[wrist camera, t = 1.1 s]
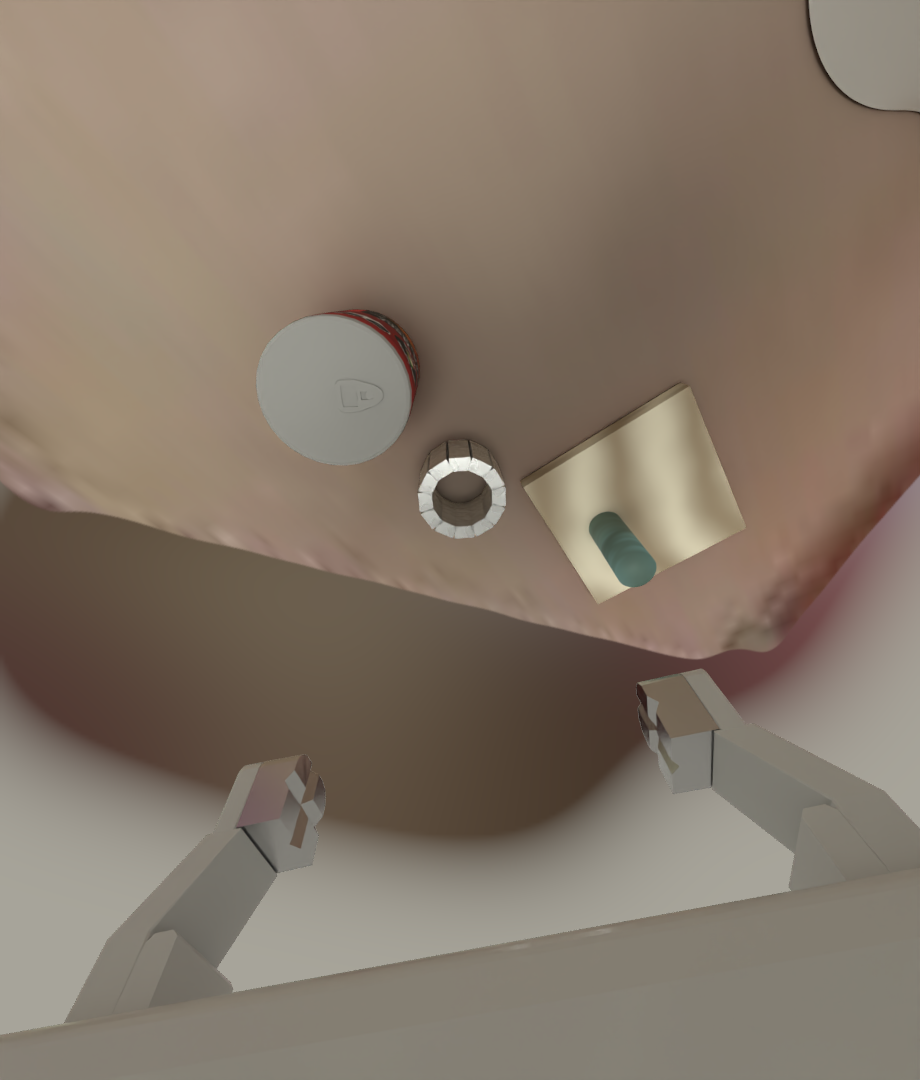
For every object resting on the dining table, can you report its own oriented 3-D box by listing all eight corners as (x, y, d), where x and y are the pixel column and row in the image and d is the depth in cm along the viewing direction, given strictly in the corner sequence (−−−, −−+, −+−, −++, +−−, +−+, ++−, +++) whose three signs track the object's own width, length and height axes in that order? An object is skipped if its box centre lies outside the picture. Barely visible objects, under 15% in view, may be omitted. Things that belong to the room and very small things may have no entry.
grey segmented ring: (471, 424, 35) (475, 440, 31) (513, 487, 38) (521, 509, 34) (405, 468, 37) (401, 488, 33) (449, 526, 40) (450, 552, 36)
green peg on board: (680, 382, 34) (746, 406, 27) (736, 520, 40) (803, 571, 33) (520, 480, 38) (539, 526, 30) (593, 594, 43) (624, 657, 36)
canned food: (434, 400, 34) (431, 441, 25) (338, 433, 35) (298, 485, 26) (397, 291, 31) (376, 288, 21) (290, 331, 32) (224, 346, 22)
